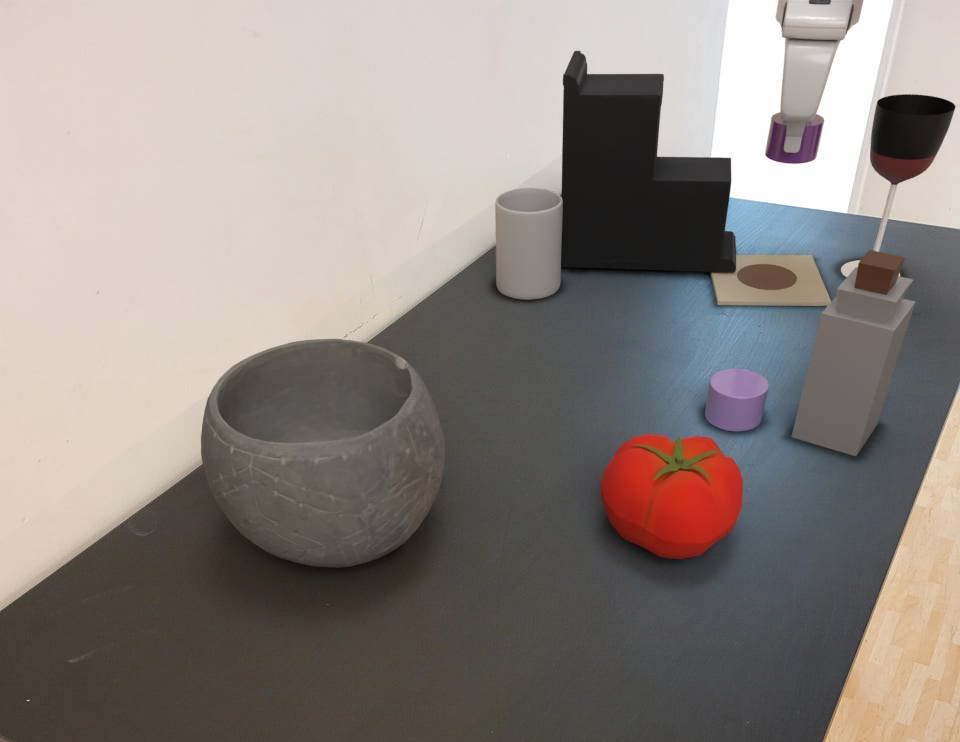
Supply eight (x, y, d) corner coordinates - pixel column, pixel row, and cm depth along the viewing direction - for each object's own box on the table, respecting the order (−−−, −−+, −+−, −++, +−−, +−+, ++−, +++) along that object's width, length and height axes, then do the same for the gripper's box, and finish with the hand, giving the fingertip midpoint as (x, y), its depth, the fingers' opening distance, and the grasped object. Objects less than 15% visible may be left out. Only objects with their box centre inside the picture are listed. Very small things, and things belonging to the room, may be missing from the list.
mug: (557, 301, 120) (560, 214, 112) (491, 298, 121) (490, 211, 114) (565, 262, 129) (568, 178, 121) (504, 260, 130) (503, 176, 122)
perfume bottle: (791, 437, 97) (833, 265, 84) (814, 407, 101) (857, 239, 88) (856, 456, 94) (909, 282, 82) (876, 425, 98) (930, 254, 85)
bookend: (735, 241, 130) (761, 46, 114) (735, 274, 123) (763, 71, 106) (568, 238, 134) (570, 50, 118) (559, 271, 127) (559, 74, 110)
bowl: (186, 524, 89) (142, 383, 79) (365, 441, 99) (347, 305, 88) (305, 641, 78) (272, 494, 67) (495, 535, 87) (493, 391, 76)
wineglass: (909, 286, 120) (961, 115, 106) (839, 283, 122) (882, 114, 107) (900, 260, 126) (948, 94, 112) (833, 258, 127) (872, 93, 113)
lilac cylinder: (757, 401, 102) (764, 368, 99) (765, 432, 98) (772, 398, 95) (702, 401, 102) (707, 367, 100) (707, 431, 98) (712, 397, 95)
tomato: (773, 549, 84) (793, 468, 78) (661, 598, 80) (673, 516, 74) (678, 473, 93) (689, 394, 87) (572, 514, 89) (576, 434, 83)
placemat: (811, 259, 127) (812, 254, 127) (830, 306, 117) (831, 300, 117) (706, 258, 128) (707, 253, 128) (717, 305, 118) (718, 300, 118)
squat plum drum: (767, 145, 115) (773, 109, 112) (818, 148, 113) (825, 112, 110) (762, 161, 111) (769, 124, 108) (815, 165, 109) (823, 128, 106)
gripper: (796, -20, 109) (773, 112, 118) (783, 23, 95) (758, 167, 105) (853, -18, 107) (825, 115, 117) (847, 25, 93) (816, 172, 103)
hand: (793, 140), depth 111 cm, fingers closed on squat plum drum, 6 cm apart
